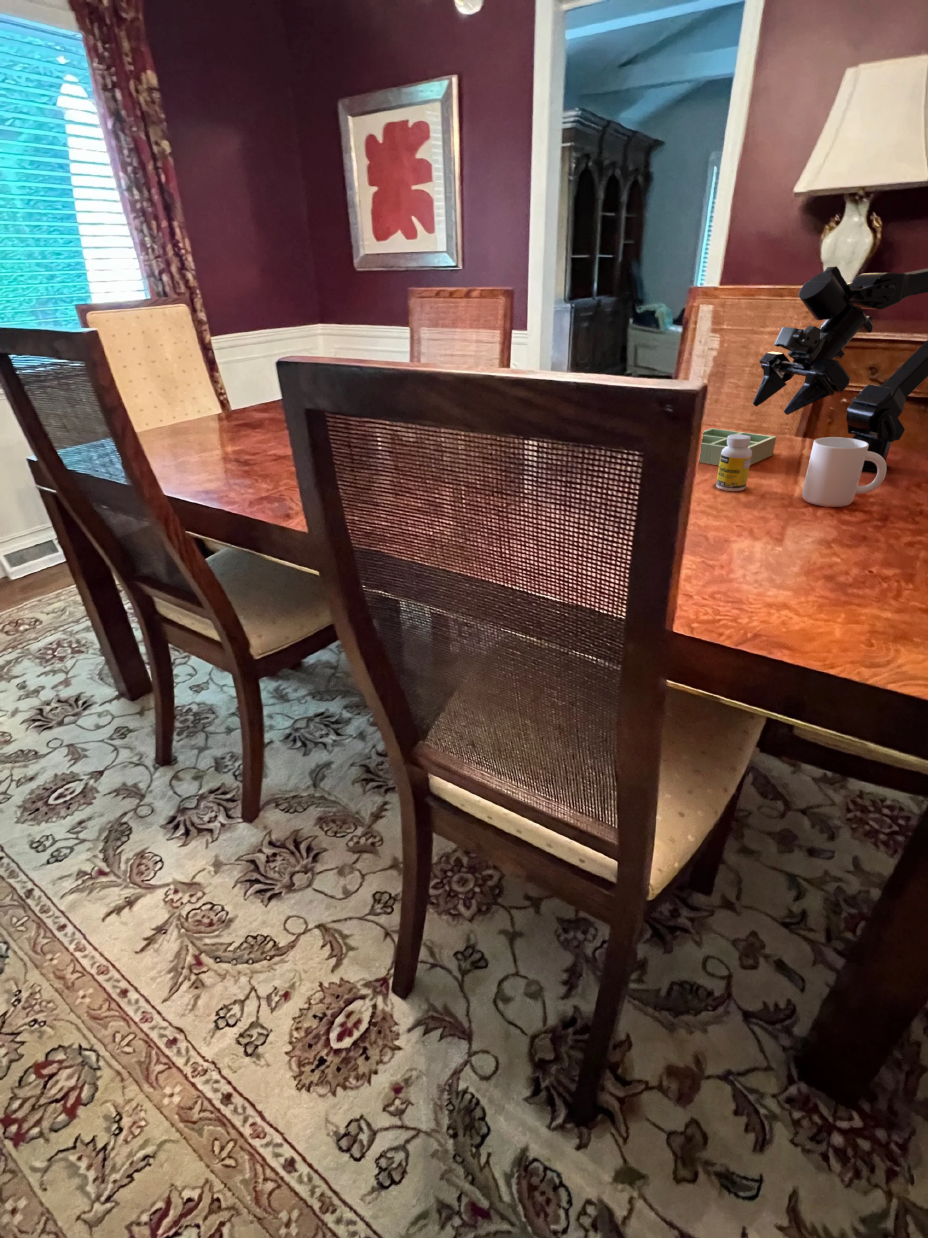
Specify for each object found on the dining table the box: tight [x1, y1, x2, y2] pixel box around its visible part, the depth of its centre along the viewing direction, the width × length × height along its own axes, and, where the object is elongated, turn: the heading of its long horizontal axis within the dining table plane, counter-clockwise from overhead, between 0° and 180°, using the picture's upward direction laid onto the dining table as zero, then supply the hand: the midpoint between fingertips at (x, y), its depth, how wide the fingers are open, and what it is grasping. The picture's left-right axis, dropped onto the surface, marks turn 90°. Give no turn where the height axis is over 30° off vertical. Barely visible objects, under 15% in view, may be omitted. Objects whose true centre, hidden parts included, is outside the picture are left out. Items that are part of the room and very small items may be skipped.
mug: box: [801, 436, 888, 508], centre depth 108 cm, size 12×8×10 cm
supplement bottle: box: [715, 434, 752, 492], centre depth 117 cm, size 5×5×10 cm
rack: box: [698, 427, 777, 467], centre depth 139 cm, size 15×15×4 cm
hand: (769, 408), depth 117 cm, fingers open, 9 cm apart
